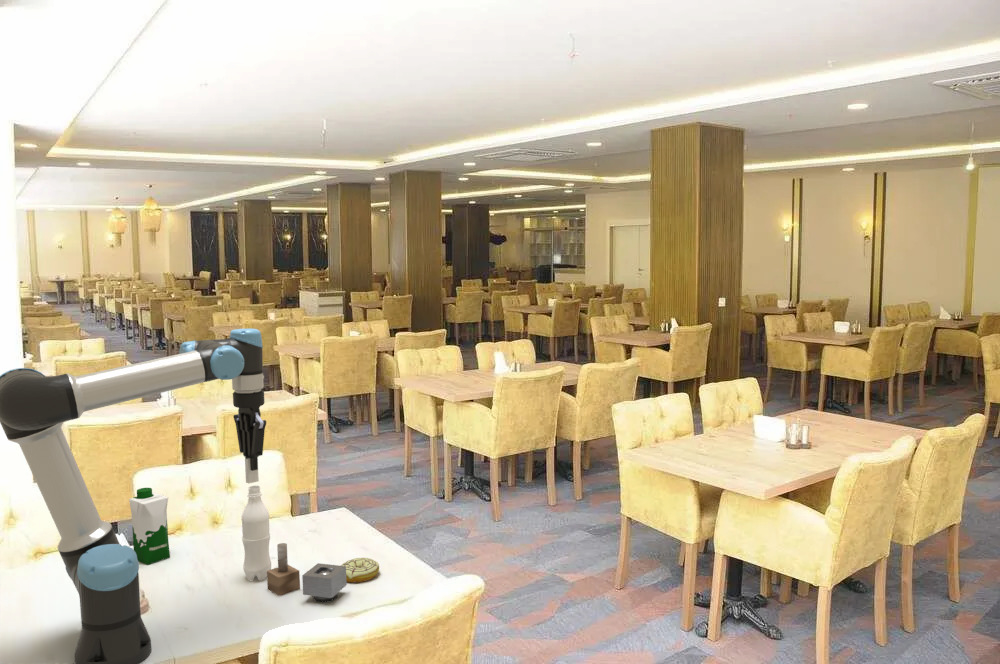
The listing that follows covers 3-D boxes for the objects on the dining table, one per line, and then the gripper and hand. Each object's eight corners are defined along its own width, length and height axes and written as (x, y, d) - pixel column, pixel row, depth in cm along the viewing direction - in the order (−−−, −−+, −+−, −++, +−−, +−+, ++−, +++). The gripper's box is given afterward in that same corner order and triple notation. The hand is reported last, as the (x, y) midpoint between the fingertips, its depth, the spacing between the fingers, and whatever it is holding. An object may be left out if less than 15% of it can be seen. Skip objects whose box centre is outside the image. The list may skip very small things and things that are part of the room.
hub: (321, 604, 201) (320, 579, 200) (308, 597, 205) (308, 572, 205) (342, 597, 205) (341, 572, 205) (329, 590, 209) (328, 566, 209)
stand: (279, 596, 206) (277, 550, 205) (267, 589, 210) (265, 544, 209) (300, 589, 210) (298, 544, 209) (288, 582, 215) (286, 538, 213)
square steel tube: (346, 585, 208) (346, 566, 207) (331, 598, 200) (331, 578, 200) (318, 581, 210) (317, 563, 209) (303, 594, 202) (302, 575, 202)
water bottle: (263, 583, 214) (259, 491, 211) (238, 581, 215) (234, 490, 213) (276, 573, 221) (272, 484, 218) (252, 571, 222) (248, 482, 220)
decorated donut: (332, 575, 219) (331, 562, 219) (366, 565, 226) (366, 552, 226) (350, 587, 211) (349, 574, 211) (386, 577, 218) (385, 563, 218)
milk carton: (158, 550, 238) (154, 484, 236) (175, 557, 233) (171, 489, 231) (129, 559, 231) (125, 491, 229) (146, 567, 226) (142, 497, 224)
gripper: (275, 391, 201) (278, 483, 203) (249, 385, 210) (253, 473, 212) (246, 395, 195) (250, 490, 198) (222, 389, 205) (226, 479, 207)
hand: (252, 481), depth 205 cm, fingers closed
